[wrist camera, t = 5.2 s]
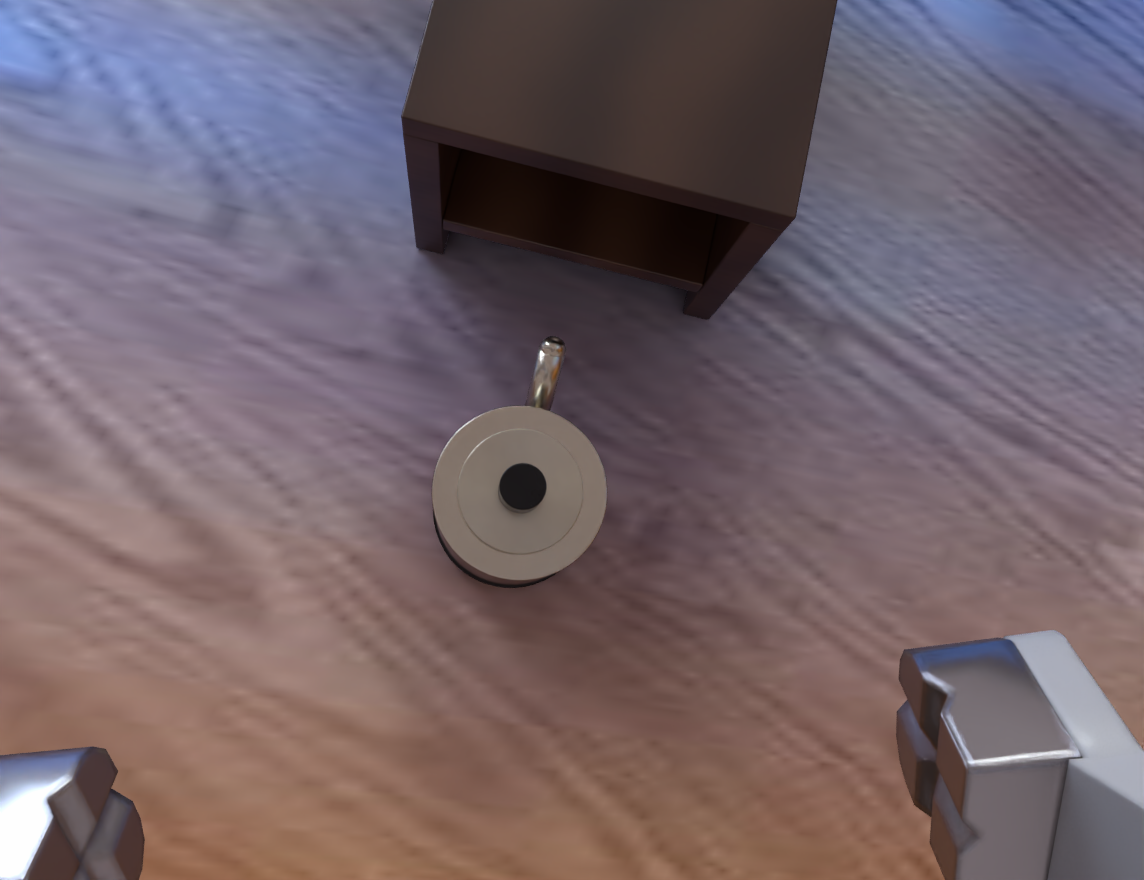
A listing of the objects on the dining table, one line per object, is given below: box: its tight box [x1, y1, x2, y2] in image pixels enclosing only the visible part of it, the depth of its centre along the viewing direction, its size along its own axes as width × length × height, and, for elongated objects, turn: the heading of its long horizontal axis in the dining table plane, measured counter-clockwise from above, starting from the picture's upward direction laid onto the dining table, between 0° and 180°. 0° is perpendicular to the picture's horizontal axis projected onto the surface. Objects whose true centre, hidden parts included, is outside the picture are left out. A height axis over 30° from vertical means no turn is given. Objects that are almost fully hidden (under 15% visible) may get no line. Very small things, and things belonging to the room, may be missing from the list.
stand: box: [401, 0, 837, 320], centre depth 40 cm, size 13×18×14 cm
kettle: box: [432, 336, 607, 588], centre depth 39 cm, size 6×9×8 cm
